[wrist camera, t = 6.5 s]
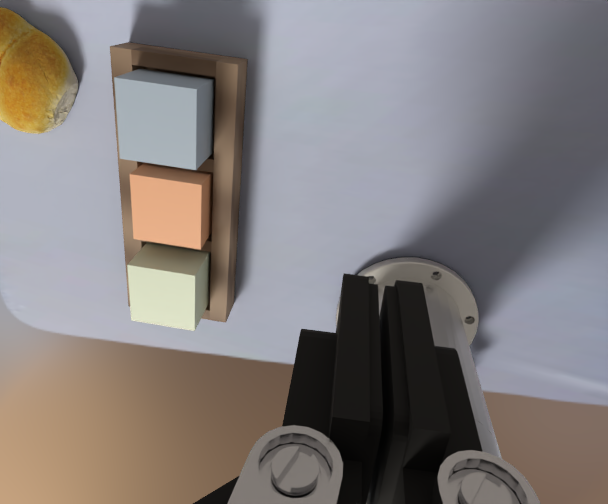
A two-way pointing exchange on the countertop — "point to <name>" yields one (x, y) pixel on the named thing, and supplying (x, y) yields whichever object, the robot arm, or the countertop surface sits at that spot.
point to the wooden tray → (221, 162)
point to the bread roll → (33, 77)
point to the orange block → (171, 205)
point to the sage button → (169, 285)
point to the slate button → (164, 118)
